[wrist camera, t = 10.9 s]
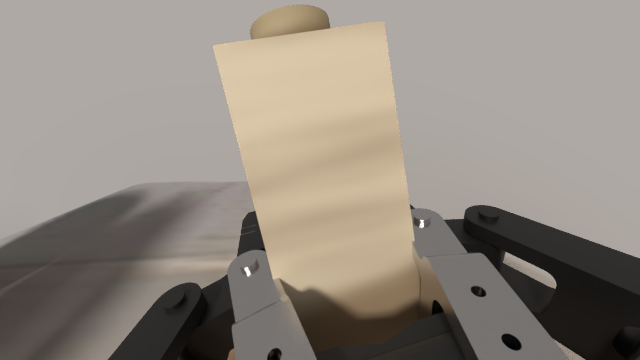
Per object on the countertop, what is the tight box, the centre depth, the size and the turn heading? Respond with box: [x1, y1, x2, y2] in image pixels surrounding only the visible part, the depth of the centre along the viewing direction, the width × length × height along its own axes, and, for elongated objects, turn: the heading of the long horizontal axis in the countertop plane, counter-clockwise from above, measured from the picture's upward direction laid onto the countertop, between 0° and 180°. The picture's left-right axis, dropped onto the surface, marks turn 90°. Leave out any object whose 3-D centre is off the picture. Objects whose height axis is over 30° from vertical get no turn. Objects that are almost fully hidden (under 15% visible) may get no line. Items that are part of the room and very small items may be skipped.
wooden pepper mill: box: [213, 5, 421, 354], centre depth 8 cm, size 4×4×14 cm
